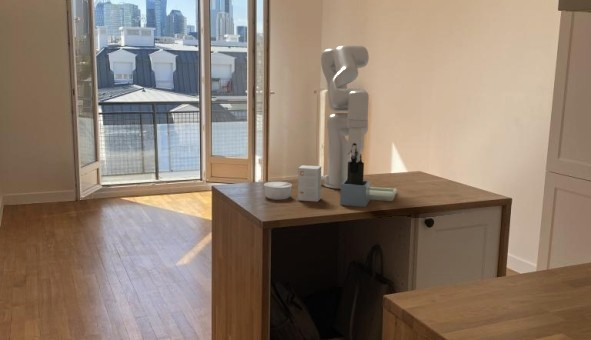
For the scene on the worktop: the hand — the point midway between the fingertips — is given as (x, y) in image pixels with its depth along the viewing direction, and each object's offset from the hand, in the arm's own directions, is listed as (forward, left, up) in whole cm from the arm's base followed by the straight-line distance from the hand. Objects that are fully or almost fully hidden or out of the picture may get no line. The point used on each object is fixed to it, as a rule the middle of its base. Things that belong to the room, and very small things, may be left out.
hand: (355, 170), depth 229 cm
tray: (+6, +14, -13) cm, 20 cm away
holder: (0, -1, -13) cm, 13 cm away
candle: (0, 0, -10) cm, 10 cm away
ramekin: (-31, -1, -13) cm, 33 cm away
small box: (-18, -1, -13) cm, 22 cm away
